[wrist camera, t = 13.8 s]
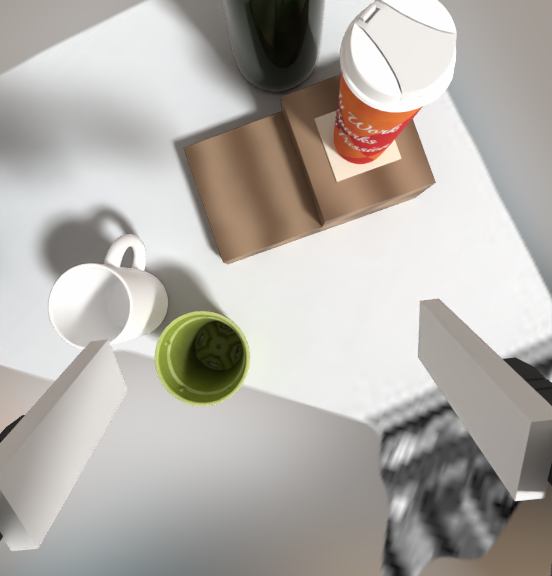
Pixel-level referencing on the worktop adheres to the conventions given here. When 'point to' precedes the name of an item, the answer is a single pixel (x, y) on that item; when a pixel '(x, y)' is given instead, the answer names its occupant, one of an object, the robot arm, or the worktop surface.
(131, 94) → the worktop surface
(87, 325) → the mug
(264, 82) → the dark green wine bottle
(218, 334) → the plant pot
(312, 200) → the step riser
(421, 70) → the paper cup
